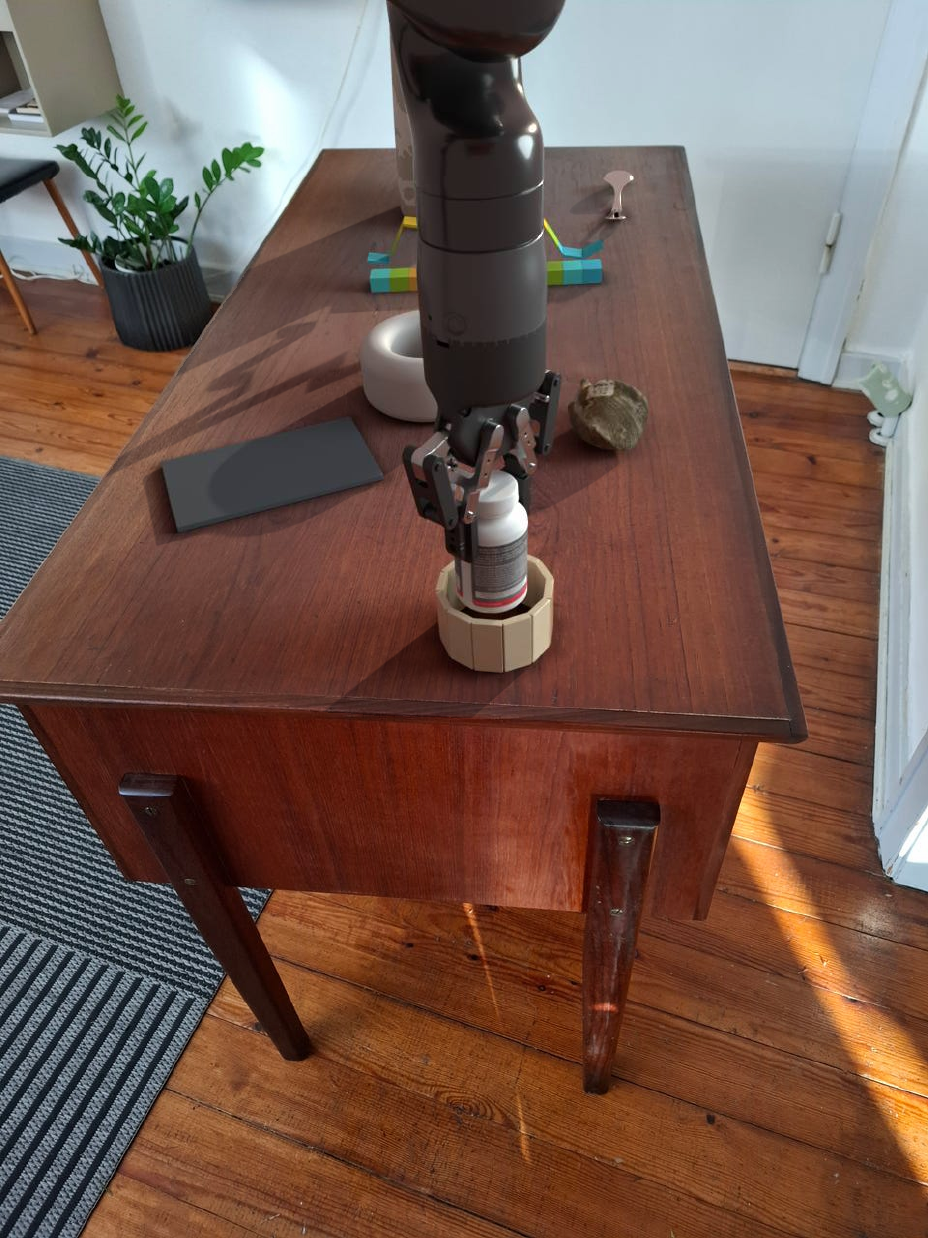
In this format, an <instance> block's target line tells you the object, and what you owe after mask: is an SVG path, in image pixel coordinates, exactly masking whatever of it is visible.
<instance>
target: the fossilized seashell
mask: <svg viewBox="0 0 928 1238" xmlns="http://www.w3.org/2000/svg"><path fill="white" fill-rule="evenodd" d="M649 410H650V409H649V403H648V399H647V398H646V395H644V394H643V392H642V391H640V390H639V389H638V388H636V387H635V386H633V385H632V384H629V383H626V382H624V381H621V380H617V379H616V380H615V379H601V380H599V381H596V382H594V383H590V380H589V379H588V378H586V377H585V378H582V379H581V380H580V385H579V388H578V391H577V392H576V395H575V396H574V397H573V398H572V400H571V401H570V402H569V403H568V405H567V412H568V418H569V421H570V425H571V427H572V429H573V430H572V431H573V432H574V433H575V434H576V435H577V436H578V437H579V438H580V439H581V440H582V441H584V442H585V443H587V444H588V445H591V446H593V447H596V448H598V449H602V450H606V451H607V450H608V451H622V452H628V451H631V449H634V448H635V447H636V446H637V445H638V444H639V442H640V441H641V438H642V437H643V434H644V432H645V427H646V424H647V420H648V415H649Z"/></svg>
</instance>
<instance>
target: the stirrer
mask: <svg viewBox="0 0 928 1238" xmlns="http://www.w3.org/2000/svg"><path fill="white" fill-rule="evenodd" d="M634 179H635V177H634V176H633V174H631V173H630V172H628V171H626V170H613V171H610V172H608V173H607V174H606V175H604V177H603V180H604V181H606V183H608V184H609V185H611V187H612V188H613V192H614V200H613V204H612V208H611V210H610V212H609V213H608V215H605V216H604V219H605V220H628V219H629V217H628V215H626V214H625V213H624V211H623V208H622V203H621V194H622V190H623V189H624V187H625V186H626V185H627V184H629V183H630V182H632V180H634ZM615 214H618V216H615Z"/></svg>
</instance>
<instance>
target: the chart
mask: <svg viewBox="0 0 928 1238" xmlns="http://www.w3.org/2000/svg"><path fill="white" fill-rule="evenodd" d="M404 228H410V229H417V222H416V218H415V217H407V216H404V218H403V219H402V222H401V224H400V226H399V229H398V232H397V234H396V237H395V239H394V242H393V244H392V246H391V249H390V251H389V253H388V254H386V253H378V252H370V251H369V252H368V256H367V264H371V265H378V266H379V265H380V266H386V267H387V266H389V265H390V261H391V259H392V256H393V254H394V252H395V249H396V247H397V244H398V241H399V239H400V237H401V234H402V231H403V230H404ZM544 231H546V233H547V235H548V236H549V238H550V239H551V241H552V242H553V244H554V245H555V247H556V249H557V250H558V252H559V253H560V255H561V256H562V257H563V258H564V259H572V260H557V261H556V260H555V261H553V260H552V261H547V286H559V285H560V286H561V285H562V286H563V285H578V284H579V285H581V284H582V285H583V284H602V281H603V266H602V265H603V264H602V261H601V259H598V258H597V259H596V258H595V259H588V258H591V256H593V255H595V254H597V253H599V252H600V251H602V250H603V249H604V244H603V243H604V242H603V240H602V238H599V239H597V240H596V241H594V242H592V243H590V244H589V245H587V246H585V247H583V248H582V249H581V248H575V247H567V246H563V245H562V244H561V243H560V241H559V239H558V238H557V236H556V234H555V233H554V231H553V230H552V229H551V226H550V225H549V224H548V222H547V221H546V218H544ZM416 268H417V267H399V268H398V267H397V268H373V269H371V271H370V276H369V284H370V291H371V293H373V294H374V293H397V292H398V293H399V292H418V291H417V276H416Z"/></svg>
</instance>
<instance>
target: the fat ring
mask: <svg viewBox="0 0 928 1238" xmlns="http://www.w3.org/2000/svg"><path fill="white" fill-rule="evenodd" d="M358 359H359V365H360V373H361V380H362V387H363V391H364V394H365V397H366V398H367V400H368V402H369V403H370V404H371V405H372V406H373V408H375V409H376V410H378V411H379V412H380V413H382V414H384V415H386V416H389V417H391V418H393V419H397V420H401V421H406V422H413V423H435V420H436V416H437V403H436V400H435V398H434V396H433V395H432V393H431V391H430V390H429V388H428V386H427V384H426V381H425V377H424V365H423V352H422V340H421V328H420V315H419V309H417V310H411V311H407V312H403V313H400V314H397V315H393V316H391V317H388V318H386V319H385V320H382V321H381V322H379V323H378V324H376V325H374V326H373V327H372V328H371V329H369V331H368V332H367V333H366V334H365V335H364V337H363V339H362V340H361V342H360V346H359V351H358Z"/></svg>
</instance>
